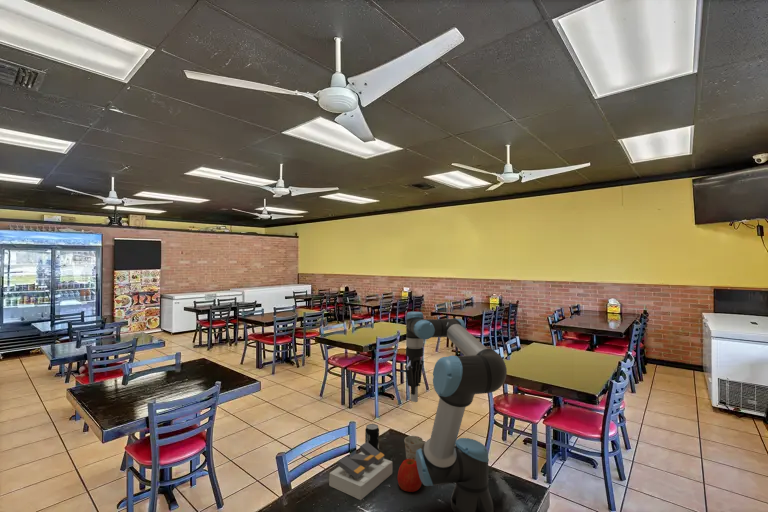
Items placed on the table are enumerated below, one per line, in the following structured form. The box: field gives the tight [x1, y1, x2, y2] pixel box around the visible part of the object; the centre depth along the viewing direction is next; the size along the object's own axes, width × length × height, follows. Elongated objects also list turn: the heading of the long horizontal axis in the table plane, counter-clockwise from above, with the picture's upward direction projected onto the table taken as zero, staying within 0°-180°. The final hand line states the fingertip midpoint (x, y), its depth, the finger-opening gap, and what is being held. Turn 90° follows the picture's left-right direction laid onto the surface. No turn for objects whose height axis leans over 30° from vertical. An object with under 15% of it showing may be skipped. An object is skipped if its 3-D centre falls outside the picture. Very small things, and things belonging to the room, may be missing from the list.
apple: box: [397, 458, 423, 493], centre depth 145 cm, size 10×10×10 cm
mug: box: [403, 435, 426, 461], centre depth 165 cm, size 8×13×10 cm, turn 115°
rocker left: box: [337, 455, 365, 479], centre depth 144 cm, size 10×5×2 cm, turn 56°
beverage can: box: [364, 423, 380, 452], centre depth 173 cm, size 7×7×12 cm
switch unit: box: [328, 451, 393, 501], centre depth 150 cm, size 16×22×7 cm
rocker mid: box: [349, 453, 375, 466], centre depth 150 cm, size 10×5×2 cm, turn 56°
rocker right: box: [359, 442, 385, 464], centre depth 156 cm, size 10×5×2 cm, turn 55°
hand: (414, 401), depth 159 cm, fingers closed
